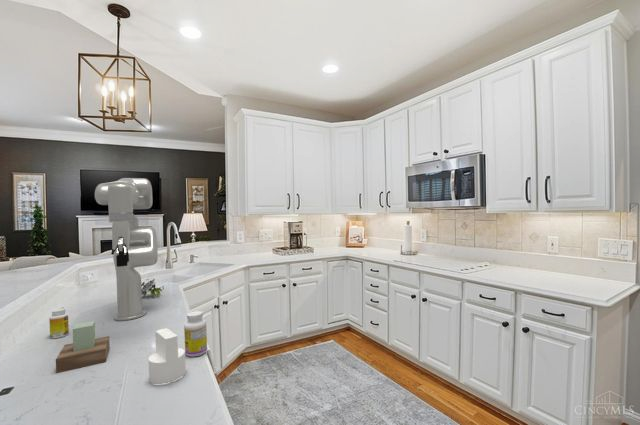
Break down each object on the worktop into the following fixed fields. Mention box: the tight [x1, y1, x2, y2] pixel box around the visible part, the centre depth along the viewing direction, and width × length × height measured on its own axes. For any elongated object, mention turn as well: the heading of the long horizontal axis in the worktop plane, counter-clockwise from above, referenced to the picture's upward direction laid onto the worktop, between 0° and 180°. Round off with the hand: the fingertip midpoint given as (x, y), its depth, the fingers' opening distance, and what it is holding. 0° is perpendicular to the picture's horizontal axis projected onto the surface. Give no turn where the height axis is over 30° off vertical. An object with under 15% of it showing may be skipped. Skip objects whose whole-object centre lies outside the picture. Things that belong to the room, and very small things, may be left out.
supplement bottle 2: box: [183, 310, 208, 358], centre depth 99 cm, size 7×7×13 cm
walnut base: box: [55, 335, 111, 374], centre depth 98 cm, size 12×12×4 cm
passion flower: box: [141, 278, 165, 299], centre depth 174 cm, size 11×11×12 cm
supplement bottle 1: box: [48, 307, 70, 339], centre depth 118 cm, size 6×6×10 cm
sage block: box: [72, 320, 96, 352], centre depth 98 cm, size 5×5×7 cm
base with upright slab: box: [148, 327, 186, 385], centre depth 85 cm, size 9×9×12 cm
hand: (123, 264), depth 113 cm, fingers open, 9 cm apart
